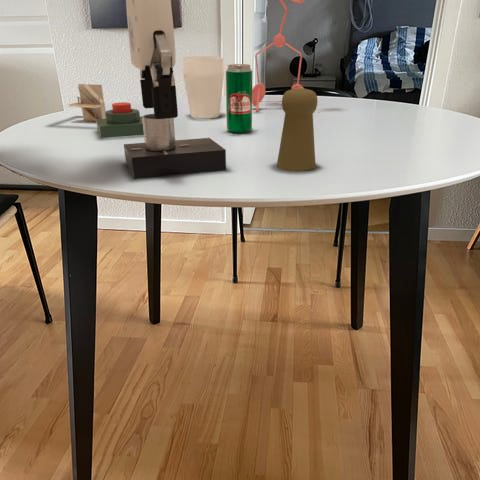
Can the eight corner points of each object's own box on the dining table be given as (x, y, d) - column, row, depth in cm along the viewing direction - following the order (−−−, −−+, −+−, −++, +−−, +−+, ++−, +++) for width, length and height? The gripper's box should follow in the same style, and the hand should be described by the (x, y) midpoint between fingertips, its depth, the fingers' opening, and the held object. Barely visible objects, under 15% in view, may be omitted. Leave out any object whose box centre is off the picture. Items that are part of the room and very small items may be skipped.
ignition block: (101, 138, 96) (98, 116, 93) (97, 130, 102) (94, 109, 100) (152, 134, 98) (150, 113, 96) (146, 127, 105) (144, 106, 103)
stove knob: (148, 152, 73) (144, 117, 71) (143, 145, 77) (139, 112, 74) (178, 149, 74) (176, 115, 72) (172, 143, 78) (169, 110, 76)
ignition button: (114, 115, 96) (112, 105, 95) (112, 112, 99) (110, 102, 98) (132, 114, 97) (131, 104, 96) (130, 111, 100) (129, 101, 99)
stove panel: (134, 178, 72) (131, 156, 71) (126, 163, 80) (123, 143, 78) (226, 170, 76) (225, 148, 74) (210, 156, 83) (209, 136, 82)
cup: (210, 111, 121) (208, 55, 114) (232, 117, 114) (231, 58, 108) (178, 115, 116) (174, 57, 110) (199, 121, 110) (196, 60, 103)
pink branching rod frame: (329, 115, 116) (345, -76, 97) (223, 111, 121) (219, -71, 103) (335, 104, 128) (350, -66, 110) (238, 101, 134) (237, -62, 115)
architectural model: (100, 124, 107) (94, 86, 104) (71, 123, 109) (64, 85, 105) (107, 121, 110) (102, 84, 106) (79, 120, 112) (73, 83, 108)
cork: (323, 167, 77) (329, 89, 71) (291, 173, 74) (295, 93, 69) (300, 159, 81) (304, 85, 76) (269, 164, 79) (271, 88, 73)
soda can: (226, 134, 98) (225, 66, 92) (226, 129, 102) (225, 63, 96) (252, 134, 98) (253, 66, 92) (251, 128, 103) (251, 63, 96)
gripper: (109, -25, 70) (126, 105, 79) (125, -36, 56) (143, 125, 65) (162, -26, 72) (172, 102, 81) (190, -36, 58) (199, 120, 67)
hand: (159, 112), depth 73 cm, fingers open, 9 cm apart
